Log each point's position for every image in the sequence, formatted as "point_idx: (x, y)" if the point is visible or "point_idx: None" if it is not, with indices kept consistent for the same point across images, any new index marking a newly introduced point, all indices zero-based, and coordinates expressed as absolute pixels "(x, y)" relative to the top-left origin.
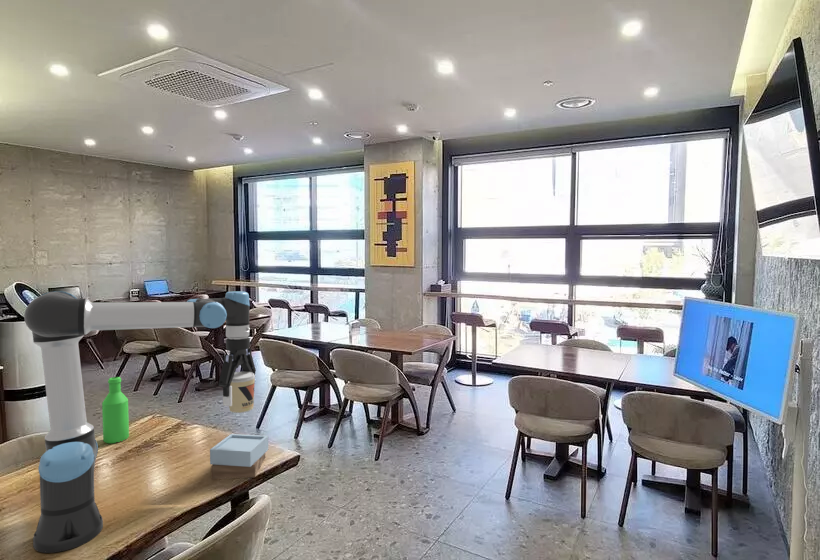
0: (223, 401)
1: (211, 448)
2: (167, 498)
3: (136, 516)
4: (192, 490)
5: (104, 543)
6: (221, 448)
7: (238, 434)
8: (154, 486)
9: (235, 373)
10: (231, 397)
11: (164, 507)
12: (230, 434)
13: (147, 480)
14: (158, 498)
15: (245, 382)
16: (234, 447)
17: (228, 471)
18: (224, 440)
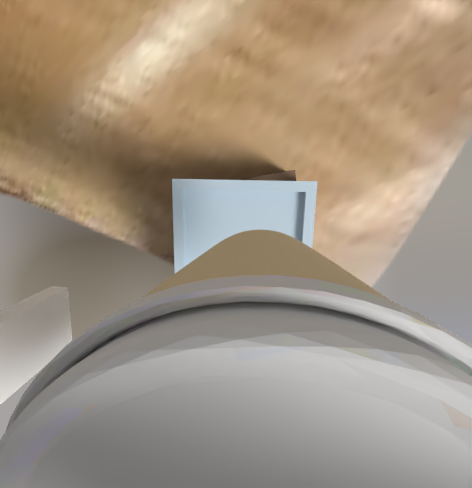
0: (23, 303)
1: (180, 179)
2: (83, 137)
3: (5, 117)
4: (127, 174)
5: None
6: (204, 203)
7: (312, 212)
8: (127, 63)
9: (461, 459)
10: (12, 386)
11: (50, 155)
12: (311, 182)
13: (153, 17)
14: (79, 115)
15: None
16: (217, 241)
17: None
18: (252, 189)
